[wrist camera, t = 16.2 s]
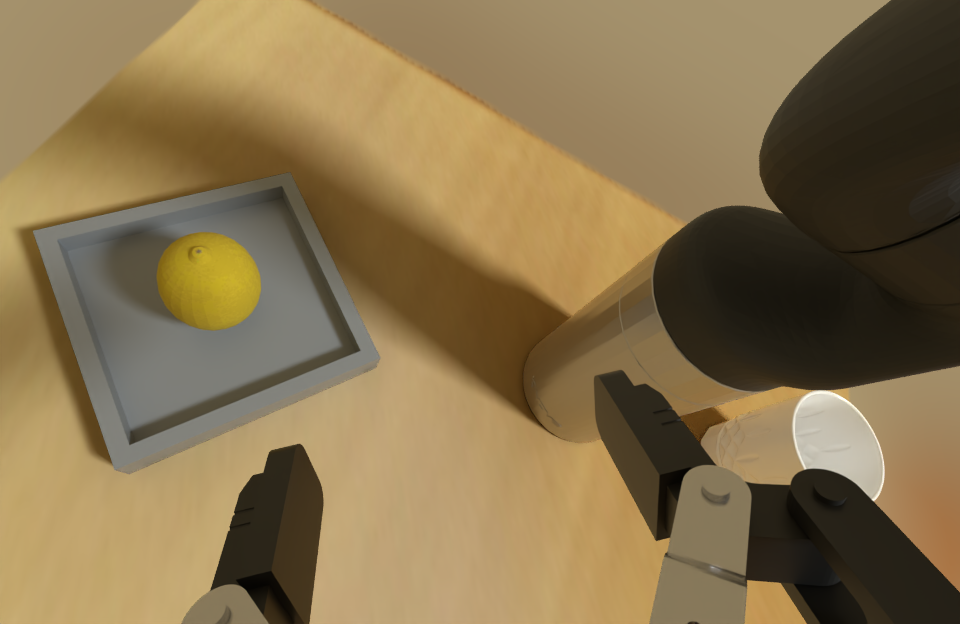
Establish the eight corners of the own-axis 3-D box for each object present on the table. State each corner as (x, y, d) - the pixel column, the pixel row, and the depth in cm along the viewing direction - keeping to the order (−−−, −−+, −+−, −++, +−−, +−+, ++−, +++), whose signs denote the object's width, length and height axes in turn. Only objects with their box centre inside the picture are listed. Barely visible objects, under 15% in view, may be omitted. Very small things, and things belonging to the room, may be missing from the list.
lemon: (272, 278, 36) (263, 218, 29) (256, 351, 34) (242, 306, 27) (187, 265, 34) (156, 198, 27) (164, 340, 32) (124, 289, 25)
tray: (291, 191, 40) (290, 172, 38) (376, 367, 37) (380, 357, 35) (50, 250, 33) (32, 230, 31) (128, 474, 30) (114, 470, 28)
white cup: (697, 402, 44) (793, 372, 36) (770, 436, 45) (881, 415, 37) (687, 491, 41) (791, 482, 32) (766, 525, 42) (888, 525, 33)
